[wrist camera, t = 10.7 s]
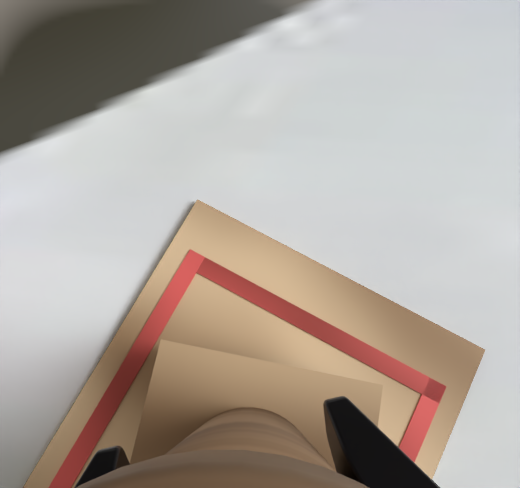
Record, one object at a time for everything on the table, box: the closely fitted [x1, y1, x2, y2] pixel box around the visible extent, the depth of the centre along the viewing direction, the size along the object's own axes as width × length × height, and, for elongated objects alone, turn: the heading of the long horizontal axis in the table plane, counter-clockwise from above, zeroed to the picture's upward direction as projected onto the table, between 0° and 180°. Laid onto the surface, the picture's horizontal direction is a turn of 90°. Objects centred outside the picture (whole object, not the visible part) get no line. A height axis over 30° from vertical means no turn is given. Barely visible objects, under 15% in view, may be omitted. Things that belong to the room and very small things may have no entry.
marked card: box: [23, 200, 485, 488], centre depth 15 cm, size 13×11×1 cm
